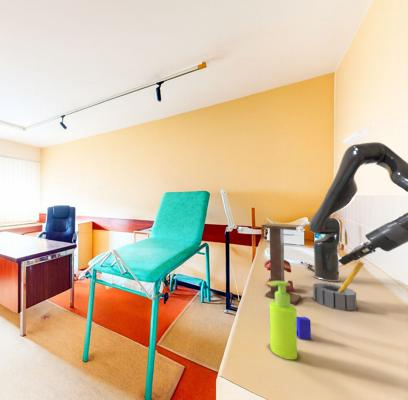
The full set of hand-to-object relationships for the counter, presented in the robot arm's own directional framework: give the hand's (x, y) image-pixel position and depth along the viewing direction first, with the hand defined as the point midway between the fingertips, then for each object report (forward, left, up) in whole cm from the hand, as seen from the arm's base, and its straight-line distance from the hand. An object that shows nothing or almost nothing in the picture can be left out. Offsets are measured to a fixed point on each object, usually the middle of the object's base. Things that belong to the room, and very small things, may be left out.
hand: (342, 261), depth 86 cm
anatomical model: (-11, -18, -18) cm, 28 cm away
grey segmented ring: (-1, -2, -18) cm, 18 cm away
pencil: (+1, +2, -9) cm, 9 cm away
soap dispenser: (+45, -27, -18) cm, 56 cm away
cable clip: (+29, -22, -18) cm, 41 cm away
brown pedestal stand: (+2, -19, -18) cm, 26 cm away
